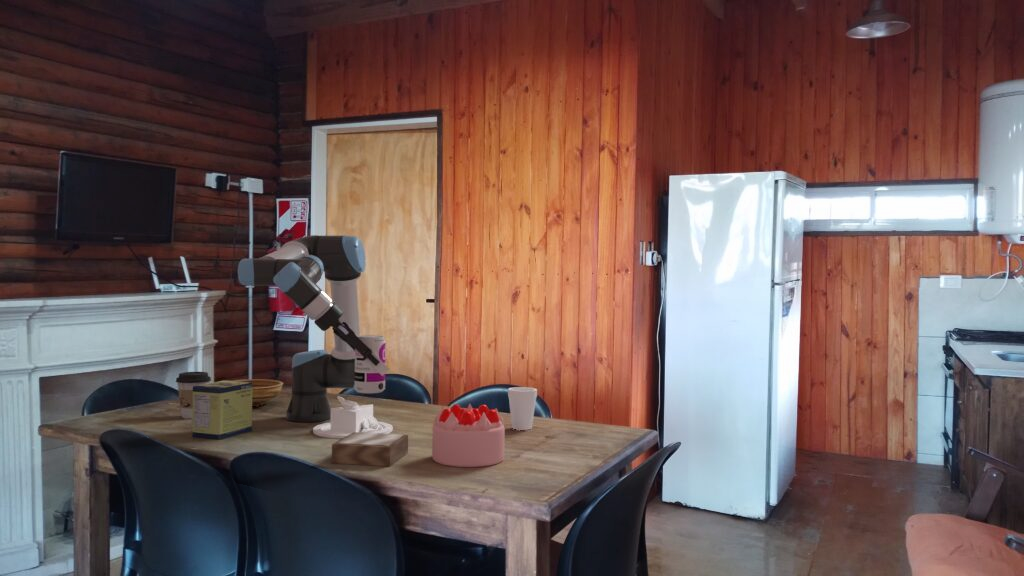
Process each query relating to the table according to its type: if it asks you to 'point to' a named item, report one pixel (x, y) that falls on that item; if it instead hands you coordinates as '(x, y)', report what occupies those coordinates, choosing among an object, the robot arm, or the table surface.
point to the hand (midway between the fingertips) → (382, 370)
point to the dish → (351, 421)
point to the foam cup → (522, 406)
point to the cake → (468, 437)
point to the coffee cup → (189, 390)
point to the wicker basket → (263, 390)
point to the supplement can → (364, 372)
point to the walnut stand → (370, 449)
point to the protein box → (222, 409)
